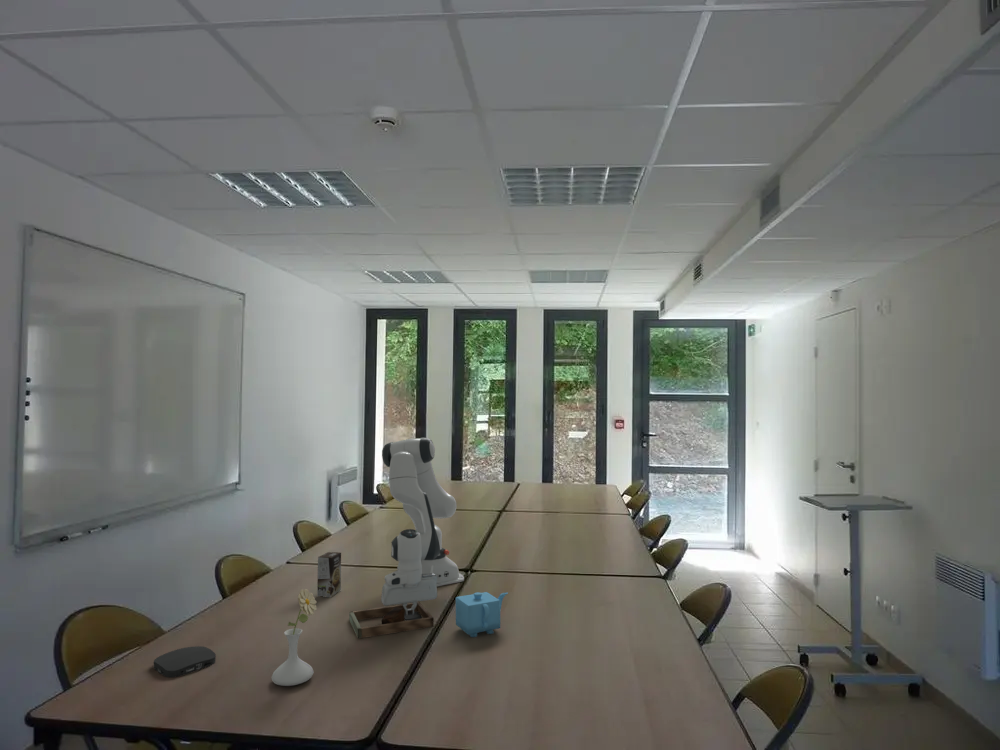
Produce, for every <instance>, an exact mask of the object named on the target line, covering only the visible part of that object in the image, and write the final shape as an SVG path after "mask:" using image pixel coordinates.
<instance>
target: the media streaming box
mask: <svg viewBox="0 0 1000 750" xmlns="http://www.w3.org/2000/svg"><path fill="white" fill-rule="evenodd" d="M212 664H213V665H214V664H216V652H214V651H213V649H210V647H207V646H204V645H203V646H199V645H198V646H197V645H196V646H187V647H182V648H177V649H175V650H170V651H168V652H166V653H164V654H161V655H159V656H158V657H156V658H154V660H153V669H154V670H155V671H156V672H158V674H160V675H162V676H163V677H165V678H178V677H182V676H185V675H188V674H191V673H194V672H197V671H201V670H202V668H203V669H205V667H206V668H208V666H209V667H211V666H213V665H212ZM210 665H211V666H210Z"/></svg>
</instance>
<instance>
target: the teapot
mask: <svg viewBox="0 0 1000 750" xmlns="http://www.w3.org/2000/svg"><path fill="white" fill-rule="evenodd" d="M508 593H509V592H502V593H500V594H499V596H498V597H495V596H494V595H492V594H491V593H489V592H487V591H484V592H474V593H472V594H467V595H466V594H465V595H459V596H456V597H455V625H456V626H457V627H459V629H461V630H462V631H463V632H464V633H466V635H468V636H469V637H470V638H477V637H478V633H485V632H486V633H485V634H487V635H492V634H494V633H495V632H494V630H498V629H501V609H502V605H503V600H504V598H505V596H507V595H508Z"/></svg>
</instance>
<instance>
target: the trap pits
mask: <svg viewBox="0 0 1000 750" xmlns="http://www.w3.org/2000/svg"><path fill="white" fill-rule="evenodd" d="M421 618H422V616H421V615H420V614H419V613H418V611H416V612H414V614H412V615H405V616H404V621H408V620H415V619H421Z"/></svg>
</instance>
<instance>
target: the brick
mask: <svg viewBox="0 0 1000 750" xmlns="http://www.w3.org/2000/svg"><path fill="white" fill-rule="evenodd" d="M404 616H405V610H404V608H398V607H395V608H394V609H392V610H391V611H390V612H388V613H387V614H386V615H385V616H382V619H381V624H380V625H382V624H388V623H395V622H401V621H405V619H404Z"/></svg>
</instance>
